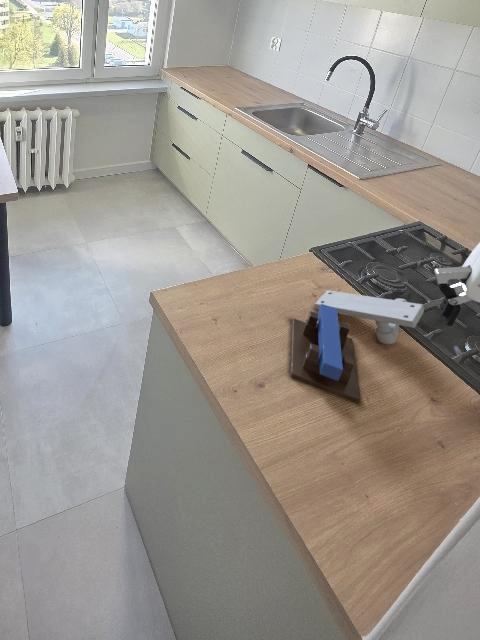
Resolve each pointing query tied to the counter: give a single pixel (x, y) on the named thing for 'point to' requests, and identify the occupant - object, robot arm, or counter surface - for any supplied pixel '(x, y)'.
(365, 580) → the counter surface
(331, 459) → the counter surface
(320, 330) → the blue bar
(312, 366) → the holder
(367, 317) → the door handle
